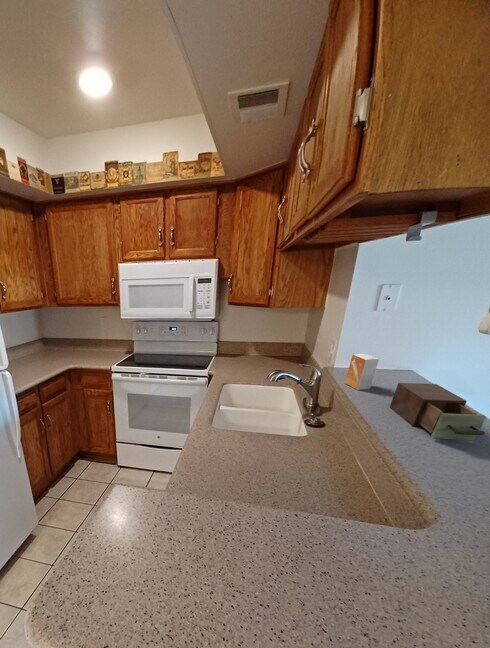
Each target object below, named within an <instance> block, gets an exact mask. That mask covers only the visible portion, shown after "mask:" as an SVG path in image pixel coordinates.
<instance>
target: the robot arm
mask: <svg viewBox="0 0 490 648" xmlns="http://www.w3.org/2000/svg"><path fill="white" fill-rule="evenodd" d="M477 330H478V332H479V333H480V334H483V335H487V336H490V306H489V307H488V309H487V311H486V312H485V314H484V316H483V317H482V319H481V321H480V323H479V324H478V327H477Z"/></svg>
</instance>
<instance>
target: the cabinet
mask: <svg viewBox="0 0 490 648" xmlns="http://www.w3.org/2000/svg"><path fill="white" fill-rule="evenodd" d="M425 402H446V403H460V404H462V405H463V406H465V407H466V404H467V402H468V400H467V399H464V398H462V396H461V397H460V396H459V395H457V394H456V393H454V392H451V390H448V389H446V388H444V387H443V386H440V385H439V384H437V383H422V382H421V383H420V382H419V383H417V382H398V383H397V385H396V388H395V391H394V394H393V395H392V399H391V402H390V404H389V408H390V410H392V411H393V412H394V413H396V414H397V415H398V416H400V417H401V418H402V419H403V420H404V421H405V422H406V423H408V424H409V425H410V426H411V427H415V428H416V427H417V428H418V427H419V428H423V427H422V426H421V425H420V424H419V423H417V421H418V419H419V416H420V414H421V411H422V409H423V406H424V404H425Z"/></svg>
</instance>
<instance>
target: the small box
mask: <svg viewBox="0 0 490 648" xmlns="http://www.w3.org/2000/svg"><path fill="white" fill-rule="evenodd" d="M379 361H380V358H378V357H375V356H373V355H370V354H367V353H354V354H352V356H351V359H350V362H349V365H348V369H347V372H346V373H347V374H346V378H345V381H344V384H346V385H348V386H350V387H351V388H353V389H355V390H357V391H359V390H370V389H371V386H372V383H373V380H374V377H375V374H376V370H377V367H378V364H379Z"/></svg>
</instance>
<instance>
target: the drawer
mask: <svg viewBox="0 0 490 648" xmlns="http://www.w3.org/2000/svg"><path fill="white" fill-rule="evenodd" d="M486 419H487V416H486V415H485V414H478V413H477V412H476V411H474V410H472V409H470V408H469V407H467V406H466V405H465V406H463V405H462V404H460V403H446V402H425V404H424V406H423V409H422V411H421V414H420V416H419V419H418V421H417V423H419V424H420V425H421V426H422V427H421V428H424V429H425V430H426V431H427V432H429V434H430V435H431V438H433V439H442V440H443V439H444V440H464V441H475V440H476V438H477V436H484V435H485V433H486V432H485V430H482V429H481V428H482V426H483V424H484V422H485V420H486Z"/></svg>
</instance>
